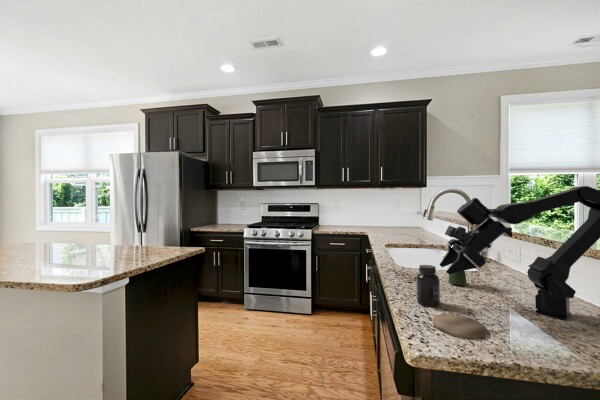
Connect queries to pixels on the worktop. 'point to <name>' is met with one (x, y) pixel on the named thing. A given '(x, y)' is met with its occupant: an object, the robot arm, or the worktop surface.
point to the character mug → (457, 276)
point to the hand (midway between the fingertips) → (443, 269)
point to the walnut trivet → (459, 326)
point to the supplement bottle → (428, 286)
